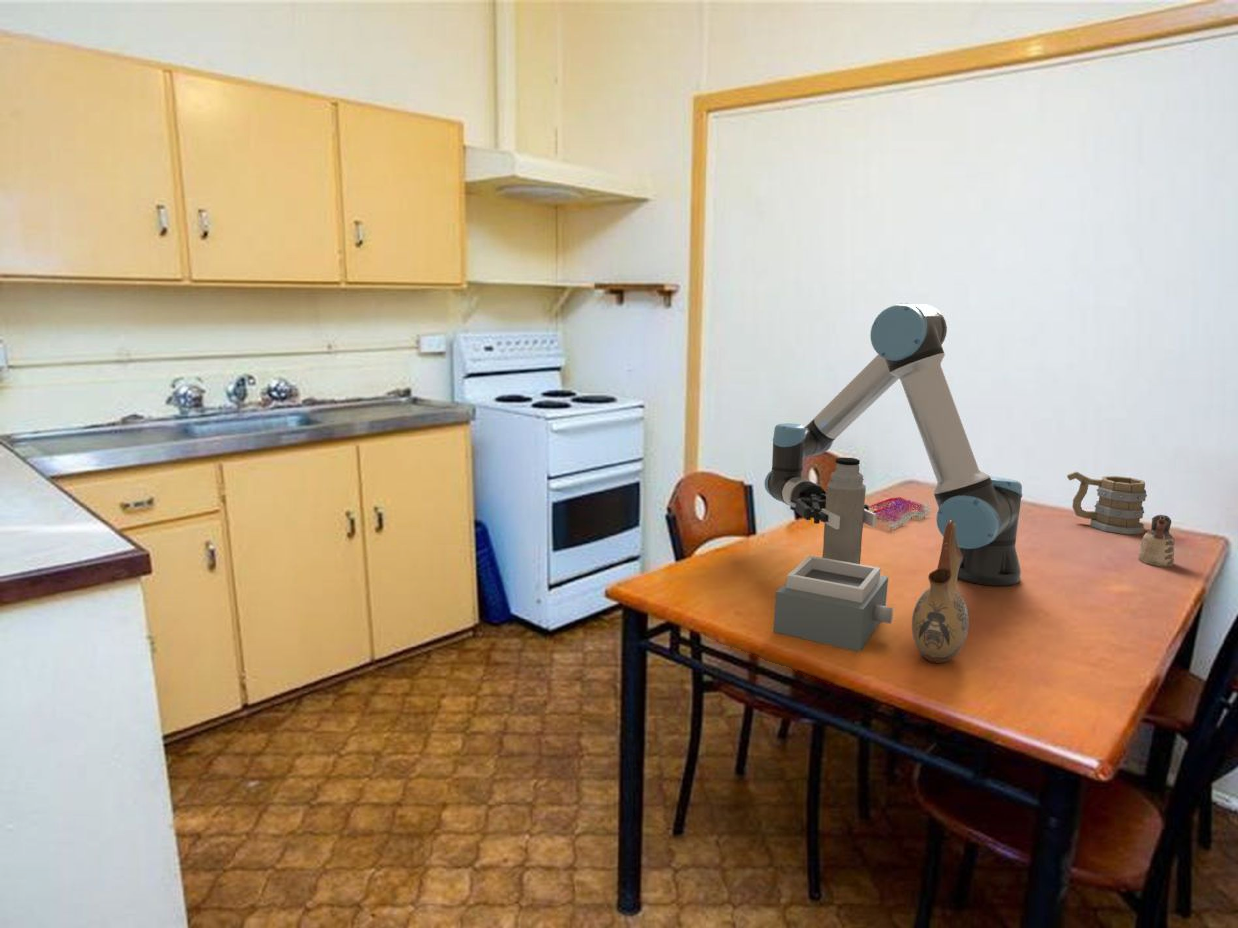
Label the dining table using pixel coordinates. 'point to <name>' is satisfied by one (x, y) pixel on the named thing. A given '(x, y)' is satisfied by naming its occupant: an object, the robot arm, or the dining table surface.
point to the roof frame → (898, 511)
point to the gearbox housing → (832, 603)
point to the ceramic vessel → (942, 606)
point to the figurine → (1158, 543)
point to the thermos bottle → (845, 512)
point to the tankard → (1113, 503)
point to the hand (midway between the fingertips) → (856, 521)
